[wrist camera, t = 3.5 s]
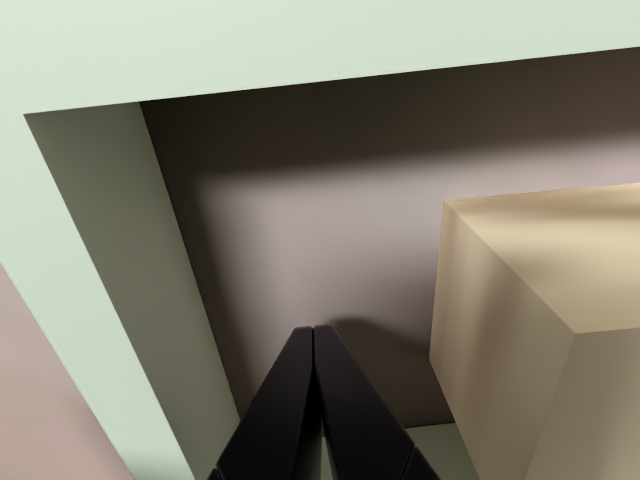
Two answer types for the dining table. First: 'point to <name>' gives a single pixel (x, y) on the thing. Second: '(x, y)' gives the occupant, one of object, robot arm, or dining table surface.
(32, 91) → the shelf bay
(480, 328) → the block
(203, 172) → the dining table surface
